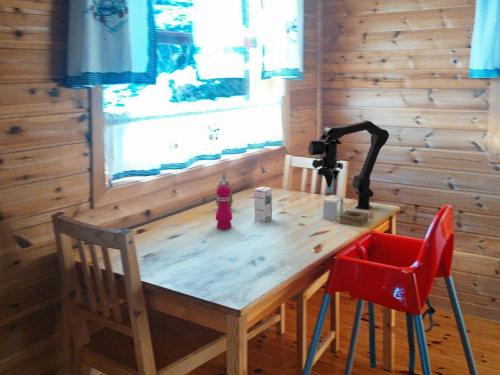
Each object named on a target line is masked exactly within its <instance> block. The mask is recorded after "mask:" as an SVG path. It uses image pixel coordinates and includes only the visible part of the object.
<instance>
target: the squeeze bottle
mask: <svg viewBox="0 0 500 375" xmlns="http://www.w3.org/2000/svg"><path fill="white" fill-rule="evenodd" d="M226 174H227V173H226V172H225V171H223V172H222V174H221V179H218V180H219V181H218V184H217V187H216V189H217V188H218V187H219V186H221V183H222V182H225V183H226V184H225V185H226V186H228V187H229V188H230V190H231V193H230V195H229V197H230V198H229V199H230V200H229V202H228V204H229V209H230V210H231V208H232V205H233V203H234V200H233V192H232V185H231V184H230V180H229V179H228V178H227V175H226ZM215 203H216V205H217V208H219V200H218V195H217V194H216V197H215Z"/></svg>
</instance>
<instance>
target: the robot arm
mask: <svg viewBox="0 0 500 375" xmlns="http://www.w3.org/2000/svg"><path fill="white" fill-rule="evenodd" d="M363 131H366V132H367V133H368V134H370V147H369V149H368V152H367V155H366V158H365V160H364V163H363V165H362V168H361V171H360V173H359V174H358V175H354V176H353V179H352V182H351V183H352V184H351V186H352V189H353V190H354V192H355V194H356V195H357V205H356V206H355V209H362V210H370V209H371V208H372V206H373V205H370V203H371V201H370V200H371V198H372V197H373V196H374V193H375V192H374V191H373V190H372V189H370V188H371V187H370V186H371V174H372V172H373V169H374V167H375V164H376V161H377V159H378V156H379V154H380V151H381V149H382V148H383V146H385V144H386V143H387V141H388V139H389V137H390V133H389V132H388V130H387V129H384V128H381V127H379V126H378V125H376V124H374V123H373V122H372V121H370V120H364V121H363V120H362V121H359V122H355V123H351V124H347V125H342V126H338V125H337V126H336V125H335V126H326V127H325V128H324V129H323V133H322V134H321V136H320V137H319V139H318V140H309V145H308V147H307V149H308V154H309V155H310V156H320V155H323V154H324V156H323V157H322V158H321V159H317V158H316V159H313V160H312V164H311V166H312V168H314V169H317V175H320V176H323V177H324V179H325V183H326V187H327V186H328V187H330V186H331V184H332V181H333V178H334V183H335V182H336V180H337V178H338V175H339V174H340V172H341V170H343V169H344V164H343V163H342V162H339V161H338V158H339V155H338V145H342V141H340V140H339V139H341V138H342V137H344V136H345V135H350V134H355V133H358V132H363ZM338 169H339V170H338Z"/></svg>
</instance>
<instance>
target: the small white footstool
mask: <svg viewBox="0 0 500 375" xmlns="http://www.w3.org/2000/svg"><path fill="white" fill-rule="evenodd" d="M338 202H340V204H339V206H340V208H339V216H340V215H342V214H343V213H344V195H338V194H337V195H336V194H330V195H328V196H327V197H325V198H324V199H323V210H322V212H323V213H322V214H323V216H322V219H323V220H330V221H337V218H338V216H337V212H338Z"/></svg>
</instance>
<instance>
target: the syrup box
mask: <svg viewBox="0 0 500 375" xmlns="http://www.w3.org/2000/svg"><path fill="white" fill-rule="evenodd" d="M253 190H254V191H253V199H254V201H253V203H254V204H253V206H254V208H253V210H254V220H255V221H258V222H267V221H269V220H272V218H273V214H272V213H273V212H272V211H273V209H272V205H273V204H272V200H273V199H272V198H273V197H272V190H273V189H272V188H271V187H268V186H261V187H257V188H254V189H253Z"/></svg>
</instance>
